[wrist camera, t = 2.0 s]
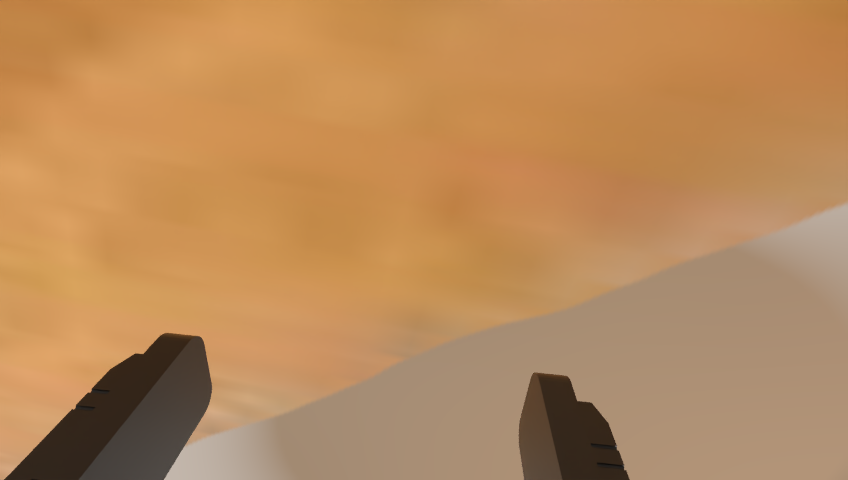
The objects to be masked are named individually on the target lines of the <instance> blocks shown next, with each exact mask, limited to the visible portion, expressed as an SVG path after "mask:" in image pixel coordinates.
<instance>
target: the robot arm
mask: <svg viewBox="0 0 848 480" xmlns="http://www.w3.org/2000/svg"><path fill="white" fill-rule="evenodd" d="M211 393H212V383H211V378H210V373H209V367H208V362H207V357H206V351H205V346H204V342H203V339H202V338H201V337H199V336H191V335H181V334H172V333H165V334H162V335H161V336H160V337H159V338H158V339H157V340H156V341H155V342H154V343H153V344H152V345H151V346H150V347H149V348H148V350H147V351H146V352H145V353H144V354H134V355H132V356H131V357H129V358H128V359H126V360H124V361H123V362H121V363H120V364H118V365H116V366H115V367H113V368H112V369H110V370H109V371H108V372H107V373H106V374H105V375H104V377H103V378H102V379H101V380H100V381H99V382H98V383H97V384H96V385H95V386H94V387H93V388H92V391H91V393H87V394H86V395H85V396H84V397H83V398H82V399H81V401H80V402H79V403H78V404H77V405H76V408H75V409H74V410H73V409H72V410H71V411H70V412H69V413H68V414H67V415H66V416H65V417H64V418H63V419H62V420H61V421H60V422H59V423H58V424H57V426H56V427H55V428H54V429H53V430H52V431H51V432H50V433H49V434H48V435H47V436H46V437H45V438H44V439H43V440H42V441H41V442H40V443H39V444H38V445H37V446H36V447H35V448H34V450H33V451H32V452H31V453H30V454H29V455H28V456H27V457H26V458H25V459H24V460H23V461H22V462H21V463H20V464H19V465H18V466H17V467H16V468H15V469H14V470H13V471H12V472H11V474H9V475H8V476H7V477H6V478H5V479H4V480H164V478H165V477H166V475H167V473H168V472H169V470H170V468H171V467H172V465H173V464H174V462H175V460H176V459H177V457H178V456H179V454H180V452H181V451H182V449H183V447H184V446H185V444H186V443H187V441H188V439H189V438H190V436H191V435H192V433H193V431H194V430H195V428H196V426H197V425H198V423H199V422H200V420H201V418H202V417H203V415H204V413H205V412H206V410H207V407H208V405H209V402H210V398H211ZM519 447H520V454H521V460H522V467H523V473H524V480H629V477H628V474H627V472H626V470H624V464H623V461H622V459H621V456H620V453H619V451H617V445H616V443H615V440H614V438H613V435H612V432H611V429H610V427H609V424H608V422H607V421H606V420H605V419H604V418H603V416H602V415H601V414H600V413H599V411H598V410H597V409H596V408H595V407H594V405H593V404H592V403H589V402H580V401H577V400H576V396H575V393H574V390H573V387H572V384H571V381H570V379H569V378H568V377H567V376H562V375H553V374H544V373H533V375H532V377H531V380H530V384H529V388H528V392H527V396H526V399H525V403H524V407H523V410H522V414H521V418H520V424H519Z"/></svg>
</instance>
